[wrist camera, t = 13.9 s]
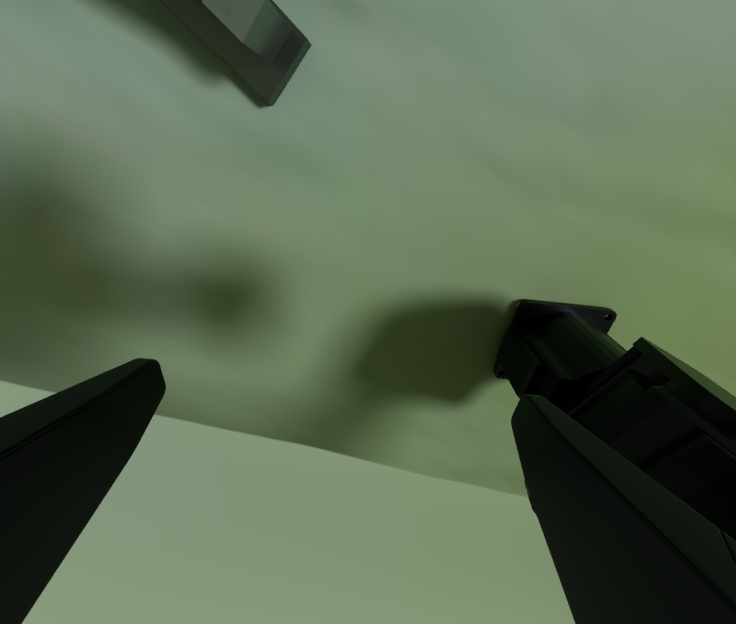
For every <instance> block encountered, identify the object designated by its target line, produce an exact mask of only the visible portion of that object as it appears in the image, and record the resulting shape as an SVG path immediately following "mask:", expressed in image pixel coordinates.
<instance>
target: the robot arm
mask: <svg viewBox="0 0 736 624" xmlns="http://www.w3.org/2000/svg"><path fill="white" fill-rule="evenodd" d="M526 306H529V307H528V309H526V310H524V308H525V307H526ZM608 314H609V315H608ZM606 315H608V316H607V317H605V316H606ZM616 316H617V315H616V313H615V312H614V311H613V310H611V309H609V308H601V307H591V306H582V305H572V304H562V303H552V302H542V301H532V300H524V301H522V302H520V303H519V305H518V307H517V309H516V312H515V314H514V317H513V320H512V322H511V325H510V327H509V328H508V329H507V330H506V333H505V335H504V338H503V341H502V343H501V346H500V348H499V351H498V354H497V357H496V358H497V361H496V364H495V366H494V369H493V372H494V374H495V376H496V377H497V378H502V379H508V380H509V382H510V384H511V385H512V387H513V389H514V391H515V393H516V395H517V396H518V397H519V398H520V400H519V402H518V405H517V407H516V409H515V411H514V413H513V415H512V419H511V425H512V430H513V434H514V438H515V442H516V446H517V450H518V454H519V458H520V462H521V466H522V470H523V474H524V478H525V487H526V489H527V493H528V497H529V500H530V503H531V506H532V509H533V511H534V512H535V513H536V515H537V517H538V520H539V523H540V526H541V528H542V531H543V534H544V536H545V539H546V542H547V545H548V548H549V551H550V553H551V556H552V559H553V562H554V564H555V568H556V570H557V573H558V576H559V578H560V582H561V584H562V587H563V590H564V593H565V596H566V598H567V601H568V604H569V607H570V610H571V612H572V615H573V618H574V621H575V623H576V624H736V397H735V396H733V395H732V394H730V393H729V392H728V391H726V390H725V389H723V388H722V387H720V386H719V385H718V384H716V383H715V382H713V381H712V380H710V379H709V378H708V377H706V376H705V375H703V374H702V373H700V372H699V371H697V370H695V369H694V368H692V367H690V366H689V365H687V364H686V363H684V362H682V361H681V360H679V359H677V358H676V357H674V356H672V355H671V354H669V353H668V352H666V351H664V350H663V349H661V348H659V347H658V346H656V345H655V344H653V343H651V342H650V341H648V340H646V339H645V338H643V337H641V338H639V339H638V340H637V341H636V342H635V343H633V345H634V346H633V347H632V348H631V349H629V350H628V351H626V350H625V349H624V348H623V347H622V346H620V345H619V344H618V343H617V342H616V341H615V340H613V339H612V338H611V337H610V336H609V335H607V333H608V331H609V329H610V328H611V326H612V324H613V322H614V321H615V319H616ZM500 371H502V372H500ZM165 390H166V384H165V381H164V377H163V374H162V370H161V367H160V364H159V362H158V361H157V360H154V359H145V358H138V359H134V360H132V361H130V362H127V363H125V364H123V365H121V366H118V367H116V368H114V369H111V370H109V371H107V372H104V373H102V374H100V375H97V376H95V377H93V378H91V379H88V380H86V381H84V382H81V383H79V384H77V385H74V386H72V387H70V388H67V389H65V390H63V391H61V392H58V393H56V394H54V395H51V396H49V397H47V398H44V399H42V400H40V401H37V402H35V403H33V404H31V405H28V406H26V407H24V408H21V409H19V410H17V411H14V412H12V413H10V414H7V415H5V416H3V417H1V418H0V624H22V622H23V621H24V619H25V617H26V616H27V615H28V613H29V612H30V610H31V608H32V607H33V605H34V604H35V602H36V601H37V599H38V598H39V596H40V595H41V593H42V591H43V590H44V589H45V587H46V586H47V584H48V583H49V581H50V579H51V578H52V576H53V575H54V573H55V572H56V570H57V569H58V567H59V566H60V564H61V563H62V561H63V560H64V558H65V557H66V555H67V554H68V552H69V551H70V549H71V547H72V546H73V544H74V543H75V541H76V540H77V538H78V537H79V535H80V534H81V532H82V531H83V529H84V528H85V526H86V525H87V523H88V521H89V520H90V519H91V517H92V515H93V514H94V512H95V511H96V509H97V508H98V506H99V505H100V503H101V502H102V500H103V499H104V497H105V496H106V494H107V493H108V491H109V489H110V488H111V487H112V485H113V483H114V482H115V480H116V479H117V477H118V476H119V474H120V473H121V471H122V470H123V468H124V466H125V465H126V464H127V462H128V460H129V459H130V457H131V456H132V454H133V452H134V450H135V449H136V447H137V445H138V443H139V442H140V440H141V438H142V436H143V434H144V432H145V430H146V428H147V426H148V424H149V423H150V421H151V419H152V417H153V415H154V413H155V411H156V409H157V407H158V405H159V404H160V402H161V400H162V398H163V396H164V394H165Z"/></svg>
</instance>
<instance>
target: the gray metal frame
mask: <svg viewBox="0 0 736 624" xmlns="http://www.w3.org/2000/svg"><path fill="white" fill-rule="evenodd" d="M161 1H162V2H163V3H164V4H165V5H167V6H168V7H169V8H170V9H171V10H172V11H173V12H174V13H175V14H176V15H177V16H178V17H179V18H180V19H181V20H182V21H183V22H184V23H185V24H186V25H187V26H188V27H189V28H190V29H191V30H192V31H193V32H194V33H195V34H196V35H198V36H199V37H200V38H201V39H202V40H203V41H204V42H205V43H206V44H207V45H208V46H209V47H210V48H211V49H212V50H213V51H214V52H215V53H216V54H217V55H218V56H219V57H220V58H221V59H222V60H223V61H224V62H225V63H226V64H228V65H229V66H230V67H231V68H232V69H233V70H234V71H235V72H236V73H237V74H238V75H239V76H240V77H241V78H242V79H243V80H244V81H245V82H246V83H247V84H248V85H249V86H250V87H251V88H252V89H253V90H254V91H255V92H256V93H258V94H259V95H260V96H261V97H262V98H263V99H264V100H265V101H266V102H267V103H269V104H272V105H274V104H275V102H276V101H277V99H278V97H279V96H280V94H281V93H282V91H283V89H284V88H285V86H286V85H287V83H288V82H289V80H290V78H291V77H292V75H293V74H294V72H295V70H296V69H297V67H298V66H299V64H300V62H301V61H302V59H303V58H304V56H305V55H306V53H307V51H308V50H309V48H310V47H311V43H310V42H309V41H308V39H307V38H306V37H305V36H304V35H303V34H302V33H301V31H300V30H299V29H298V28H297V27H296V26H295V25H294V24H293V23H292V22H291V20H290V19H289V18H288V17H287V16H286V15H285V14H284V13H283V12H282V11H281V9H280V8H279V7H278V6H277V5H276V4H275V3H274V2H273V1H272V0H161Z"/></svg>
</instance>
